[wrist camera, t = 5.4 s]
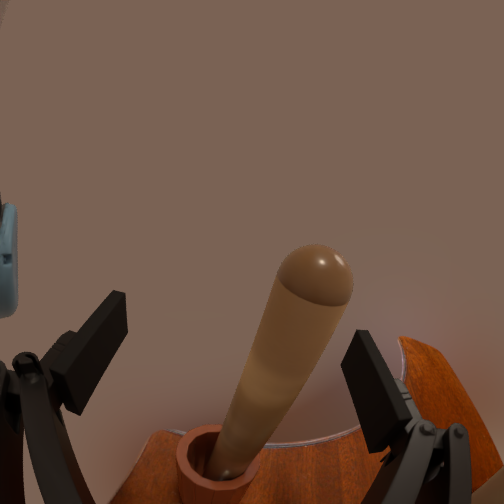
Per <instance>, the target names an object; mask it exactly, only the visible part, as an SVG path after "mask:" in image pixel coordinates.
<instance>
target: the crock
mask: <svg viewBox="0 0 504 504" xmlns="http://www.w3.org/2000/svg"><path fill="white" fill-rule="evenodd" d="M222 426H223V425H220V424H219V425H202V426H200V427H197V428H194V429H192V430H190V431H188V432H187V433H186V434H185V435H184V436H183V437H182V438H181V439H180V440H179V442H178V446H177V450H176V455H175V456H176V468H177V478H178V487H179V494H180V498H181V501H182V503H183V504H239V502H240V501H241V499H242V498H243V496H244V494H245V493H246V491H247V489H248V488H249V486H250V484H251V482H252V481H253V479H254V477H255V475H256V474H257V472H258V470H259V468H260V453H258V455H257V456H256V457H255V459H254V460H253V461H252V463H251V464H250V465H249V466H248V468H247V469H246V470H245V472H244V473H243V474H242V475H241V476H239V477H237V478H235V479H233V480H231V481H212V480H209V479H206V478H203V477H202V476H203V473H204V471H205V469H206V466H207V464H208V461H209V459H210V456H211V454H212V451H213V449H214V446H215V444H216V441H217V439H218V436H219V434H220V431H221V428H222Z"/></svg>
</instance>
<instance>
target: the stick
mask: <svg viewBox="0 0 504 504" xmlns="http://www.w3.org/2000/svg"><path fill="white" fill-rule="evenodd" d="M352 291H353V276H352V272H351V269H350V266H349V265H348V263H347V261H346V260H345V258H344V257H342V255H341V254H340V253H338V252H337V251H336V250H334V249H332V248H330V247H327V246H324V245H318V244H315V245H307V246H303V247H300V248H298V249H296V250H295V251H293V252H292V253H290V254H289V255H288V256H287V257H286V258H285V259H284V261H283V262H282V263H281V266H280V267H279V270H278V272H277V275H276V278H275V281H274V284H273V287H272V290H271V293H270V296H269V299H268V302H267V305H266V308H265V311H264V313H263V316H262V319H261V322H260V325H259V328H258V331H257V334H256V336H255V340H254V342H253V345H252V348H251V351H250V353H249V356H248V359H247V362H246V364H245V367H244V370H243V373H242V376H241V378H240V381H239V384H238V386H237V389H236V392H235V394H234V397H233V400H232V402H231V405H230V408H229V411H228V413H227V415H226V418H225V421H224V423H223V426H222V428H221V431H220V434H219V436H218V439H217V441H216V444H215V446H214V449H213V451H212V454H211V456H210V459H209V461H208V464H207V466H206V469H205V471H204V473H203V476H202V477H203V478H206V479H209V480H212V481H231V480H233V479H235V478H237V477H239V476H241V475H242V474H243V473H244V472H245V470H246V469H247V468H248V466H249V465H250V464H251V463H252V461H253V460H254V459H255V457H256V456H257V455H258V453H259V452H260V451H261V449H262V448H263V446H264V445H265V444H266V442H267V441H268V439H269V438H270V437H271V435H272V434H273V432H274V431H275V429H276V428H277V426H278V425H279V423H280V422H281V421H282V419H283V417H284V416H285V414H286V413H287V411H288V410H289V408H290V407H291V405H292V404H293V402H294V400H295V399H296V397H297V396H298V394H299V392H300V391H301V389H302V387H303V386H304V384H305V383H306V381H307V379H308V378H309V376H310V374H311V372H312V371H313V369H314V367H315V365H316V364H317V362H318V360H319V358H320V357H321V355H322V353H323V351H324V349H325V347H326V346H327V344H328V342H329V340H330V338H331V336H332V334H333V332H334V331H335V328H336V327H337V324H338V323H339V320H340V319H341V317H342V315H343V313H344V311H345V309H346V306H347V304H348V302H349V300H350V297H351V294H352Z"/></svg>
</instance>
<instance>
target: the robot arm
mask: <svg viewBox="0 0 504 504" xmlns="http://www.w3.org/2000/svg"><path fill="white" fill-rule="evenodd" d="M8 3H9V0H0V27H1V23H2V20H3V17H4V14H5V11H6V8H7V6H8ZM17 305H18V263H17V209H16V206H15V205H13V204H9V203H5V204H3V205H2V204H1V195H0V318H5V317H9V316H11V315H12V314H14V312H15V311H16V309H17ZM127 333H128V328H127V314H126V296H125V293H123V292H119V291H115V290H113V291H112V292H111V293H110V294H109V295H108V297H107V298H106V299H105V300H104V301H103V302H102V303H101V305H100V306H99V307H98V308H97V309H96V310H95V311H94V313H93V314H92V315H91V316H90V317H89V318H88V320H87V321H86V322H85V323H84V324H83V326H82V327H81V328H80V329H79V331H78V332H77V333H76V332H73V331H70V330H69V331H68V332H66V333H65V334H62V335H61V336H60V337H59V339H58V340H57V341H56V343H54V345H53V346H52V348H50V349H49V351H48V352H47V353H46V354H45V355H44V357H43V358H42V359H41V360H40V362H39V360H38V357H37V356H36V355H35V354H34V353H31V352H22V353H19V354H18V355H16V356H15V358H14V359H13V362H12V366H13V368H14V370H15V371H12V370H7V368H6V366H5V364H4V363H3V362H2V361H0V504H25V496H24V482H23V435H24V429H25V435H26V440H27V445H28V449H29V453H30V458H31V461H32V465H33V469H34V473H35V476H36V479H37V482H38V485H39V489H40V492H41V495H42V497H43V500H44V503H45V504H96V503H95V501H94V500H93V497H92V496H91V493H90V491H89V489H88V487H87V484H86V482H85V480H84V477H83V475H82V473H81V470H80V468H79V465H78V463H77V460H76V457H75V454H74V452H73V449H72V446H71V443H70V440H69V437H68V434H67V430H66V427H65V424H64V420H63V416H62V412H61V410H60V406H61V405H62V403H64V405H65V408H66V409H67V410H68V411H70V412H72V413H75V414H77V415H79V416H81V414H82V412H83V410H84V408H85V406H86V404H87V403H88V401H89V398H90V397H91V395H92V393H93V392H94V390H95V388H96V386H97V384H98V383H99V381H100V379H101V377H102V376H103V374H104V372H105V370H106V369H107V367H108V365H109V363H110V362H111V360H112V358H113V357H114V355H115V353H116V351H117V350H118V348H119V347H120V345H121V343H122V342H123V340H124V338H125V337H126V335H127ZM341 368H342V371H343V374H344V376H345V379H346V382H347V385H348V388H349V391H350V394H351V397H352V400H353V403H354V406H355V409H356V412H357V415H358V419H359V422H360V425H361V428H362V431H363V435H364V438H365V441H366V444H367V448H368V451H369V454H370V453H377V452H383V451H384V450H385V449H386V448H387V447H388V445H389V446H390V449H391V451H390V452H389V453H388V454H387V455H386V456H385V457H383V458H382V460H381V461H380V462H381V463H382V462H383V461H384V462H383V464H382V466H381V468H380V470H379V472H378V474H377V476H376V478H375V480H374V482H373V483H372V485H371V487H370V489H369V490H368V492H367V494H366V496H365V497H364V499H363V501H362V502H361V504H414V503H415V504H471V497H472V479H471V458H470V446H469V436H468V432H467V429H466V428H465V427H464V426H463V425H462V424H459V423H454V424H452V425H451V426H450V427H449V428H448V429H437V428H436V426H435V425H434V424H433V423H432V422H430V421H429V420H425V419H422V417H421V415H420V413H419V411H418V409H417V407H416V405H415V403H414V401H413V399H412V397H411V395H410V394H409V391H408V389H407V387H406V386H405V384H404V383H403V382H402V381H401V380H400V379H394V378H393V376H392V374H391V372H390V370H389V368H388V367H387V365H386V363H385V361H384V359H383V357H382V355H381V353H380V352H379V350H378V348H377V346H376V344H375V342H374V341H373V339H372V337H371V335H370V333H369V331H368V330H356V332H355V334H354V337H353V339H352V341H351V343H350V346H349V348H348V350H347V352H346V354H345V356H344V359H343V361H342V363H341ZM443 462H444V465H443Z"/></svg>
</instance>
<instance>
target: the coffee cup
mask: <svg viewBox="0 0 504 504" xmlns="http://www.w3.org/2000/svg"><path fill="white" fill-rule="evenodd" d="M471 504H504V466H503V467H502V468H501V469H500V470H499V471H498V472H497V473H496V474H495V475H494V476H492V477H491V478H490V479H489V480H488V481H487V482H486V483H485V484H483V485H482V486H481V487H480V488H479V489H478V490H476V491H475V492H474V493H473V494H472V497H471Z"/></svg>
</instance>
